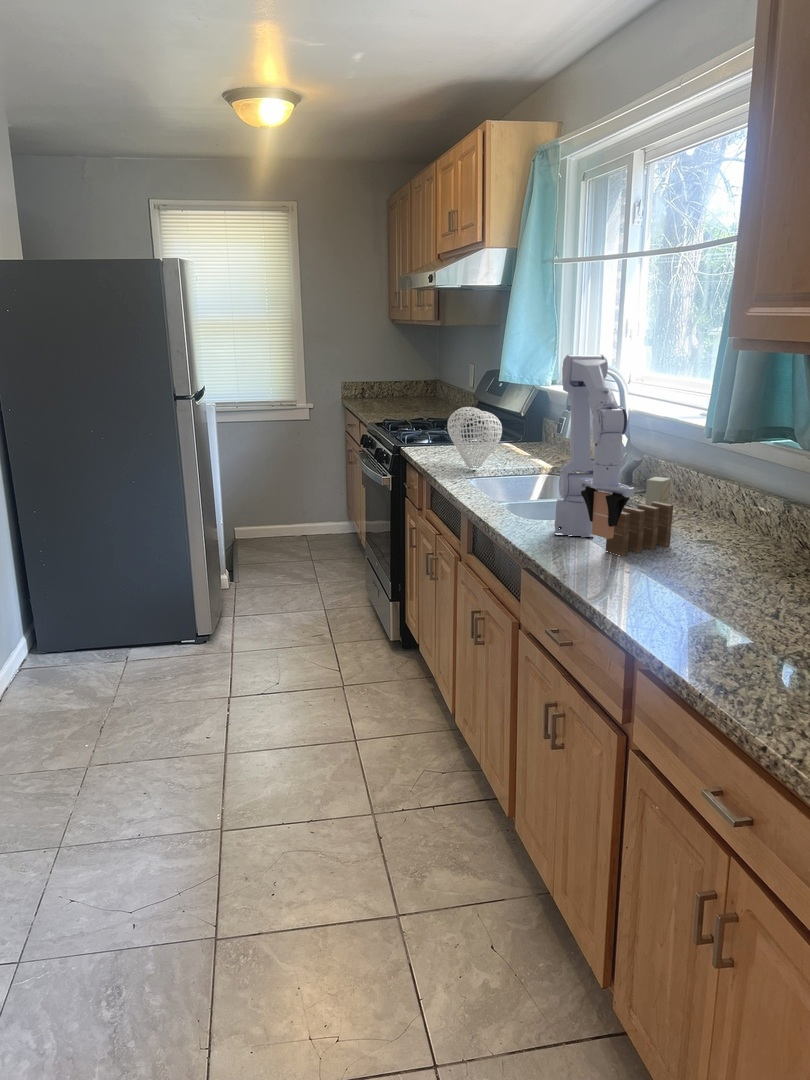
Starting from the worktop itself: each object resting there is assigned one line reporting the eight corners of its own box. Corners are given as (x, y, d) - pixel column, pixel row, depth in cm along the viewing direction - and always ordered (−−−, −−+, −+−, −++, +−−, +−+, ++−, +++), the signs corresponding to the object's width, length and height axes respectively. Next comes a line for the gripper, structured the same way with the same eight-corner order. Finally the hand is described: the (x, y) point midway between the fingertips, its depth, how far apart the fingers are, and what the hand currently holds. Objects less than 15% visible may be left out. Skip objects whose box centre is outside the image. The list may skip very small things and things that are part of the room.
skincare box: (659, 527, 207) (663, 481, 204) (642, 524, 210) (646, 479, 207) (667, 522, 212) (671, 477, 209) (651, 520, 215) (655, 475, 211)
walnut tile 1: (665, 547, 189) (668, 505, 186) (648, 542, 193) (651, 502, 190) (669, 545, 190) (673, 505, 187) (652, 541, 194) (656, 501, 191)
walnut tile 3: (637, 553, 184) (640, 511, 181) (620, 548, 188) (623, 507, 185) (641, 552, 185) (645, 510, 182) (625, 547, 189) (627, 506, 186)
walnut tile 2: (651, 550, 186) (654, 508, 184) (634, 545, 190) (637, 504, 188) (655, 549, 187) (659, 507, 185) (639, 544, 191) (642, 503, 189)
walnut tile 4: (622, 557, 181) (625, 514, 178) (605, 552, 185) (608, 510, 182) (627, 556, 182) (630, 513, 179) (610, 551, 186) (613, 509, 183)
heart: (442, 465, 299) (443, 405, 293) (481, 463, 302) (483, 404, 296) (463, 479, 272) (464, 413, 266) (506, 477, 276) (508, 412, 270)
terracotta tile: (608, 538, 177) (611, 494, 174) (591, 534, 181) (594, 491, 178) (613, 537, 178) (616, 494, 175) (596, 533, 182) (599, 490, 179)
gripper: (570, 460, 179) (567, 519, 182) (620, 470, 167) (615, 532, 171) (592, 457, 183) (588, 515, 186) (642, 466, 171) (637, 527, 175)
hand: (603, 523), depth 179 cm, fingers closed on terracotta tile, 5 cm apart
